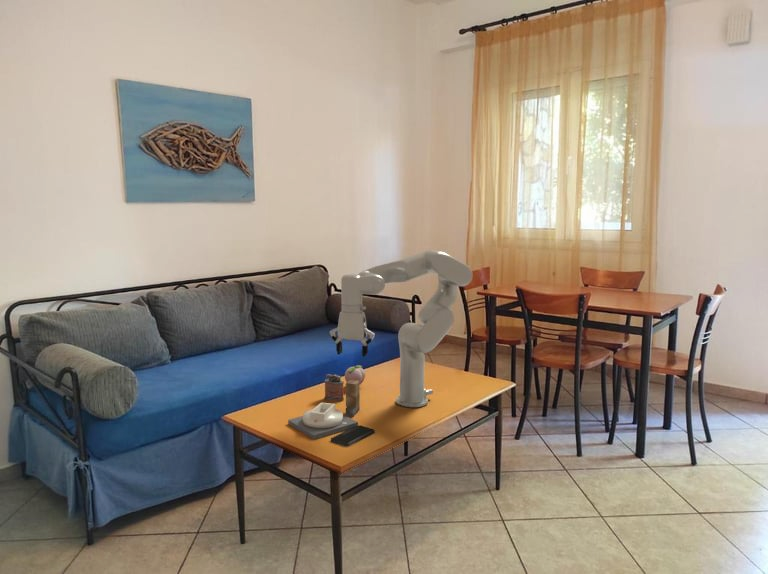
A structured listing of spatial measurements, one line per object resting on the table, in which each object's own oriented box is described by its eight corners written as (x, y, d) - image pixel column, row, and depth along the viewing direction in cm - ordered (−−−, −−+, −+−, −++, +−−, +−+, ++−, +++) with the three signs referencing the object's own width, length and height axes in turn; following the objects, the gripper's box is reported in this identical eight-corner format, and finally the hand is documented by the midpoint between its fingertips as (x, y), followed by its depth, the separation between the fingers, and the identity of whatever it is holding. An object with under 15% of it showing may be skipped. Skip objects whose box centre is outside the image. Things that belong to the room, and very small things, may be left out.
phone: (376, 430, 187) (347, 444, 175) (376, 433, 187) (347, 448, 175) (358, 424, 191) (329, 438, 179) (358, 427, 191) (329, 441, 180)
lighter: (345, 398, 219) (345, 374, 218) (341, 401, 216) (341, 377, 215) (326, 396, 222) (326, 372, 221) (323, 399, 219) (322, 375, 218)
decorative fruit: (351, 382, 240) (351, 360, 238) (367, 385, 236) (367, 363, 235) (340, 389, 231) (340, 366, 230) (357, 391, 228) (357, 368, 227)
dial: (312, 411, 201) (312, 399, 200) (348, 415, 197) (348, 403, 196) (295, 425, 188) (295, 413, 187) (334, 430, 184) (334, 417, 183)
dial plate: (331, 412, 205) (331, 408, 204) (357, 426, 192) (357, 421, 191) (288, 423, 194) (288, 419, 193) (313, 439, 180) (313, 434, 180)
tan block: (360, 410, 207) (360, 379, 205) (354, 417, 200) (354, 385, 199) (350, 409, 208) (350, 378, 206) (344, 415, 201) (344, 384, 200)
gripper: (377, 308, 200) (377, 353, 202) (333, 305, 205) (333, 350, 207) (371, 311, 193) (371, 359, 195) (325, 309, 198) (326, 355, 200)
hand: (352, 354), depth 201 cm, fingers open, 9 cm apart
